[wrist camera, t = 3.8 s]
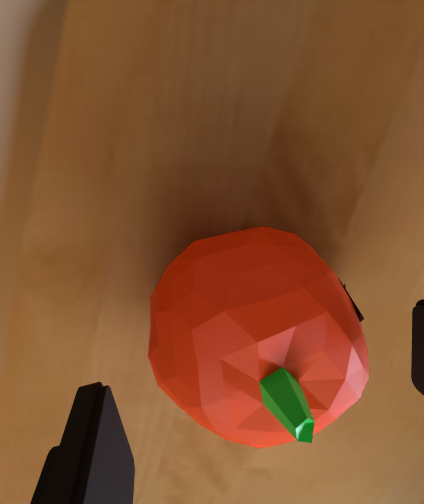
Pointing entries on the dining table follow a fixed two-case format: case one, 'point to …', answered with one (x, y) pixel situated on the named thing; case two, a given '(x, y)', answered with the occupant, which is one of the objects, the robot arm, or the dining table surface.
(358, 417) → the dining table surface
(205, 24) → the dining table surface
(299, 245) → the pumpkin
